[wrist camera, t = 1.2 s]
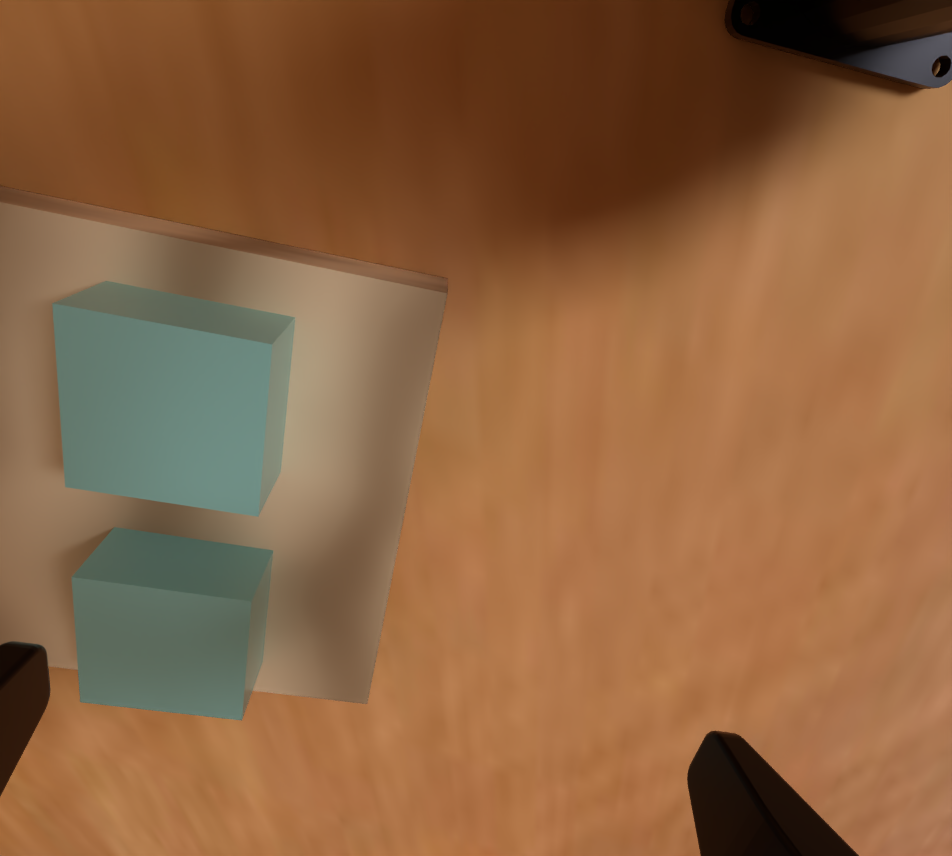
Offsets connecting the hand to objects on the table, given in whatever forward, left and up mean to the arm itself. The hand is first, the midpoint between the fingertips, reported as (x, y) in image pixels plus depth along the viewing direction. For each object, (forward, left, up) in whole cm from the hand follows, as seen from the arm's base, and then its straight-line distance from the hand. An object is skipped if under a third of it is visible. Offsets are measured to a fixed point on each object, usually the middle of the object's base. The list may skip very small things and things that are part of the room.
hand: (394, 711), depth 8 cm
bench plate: (+7, +5, -13) cm, 15 cm away
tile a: (+6, +1, -11) cm, 13 cm away
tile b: (+6, +9, -11) cm, 15 cm away
